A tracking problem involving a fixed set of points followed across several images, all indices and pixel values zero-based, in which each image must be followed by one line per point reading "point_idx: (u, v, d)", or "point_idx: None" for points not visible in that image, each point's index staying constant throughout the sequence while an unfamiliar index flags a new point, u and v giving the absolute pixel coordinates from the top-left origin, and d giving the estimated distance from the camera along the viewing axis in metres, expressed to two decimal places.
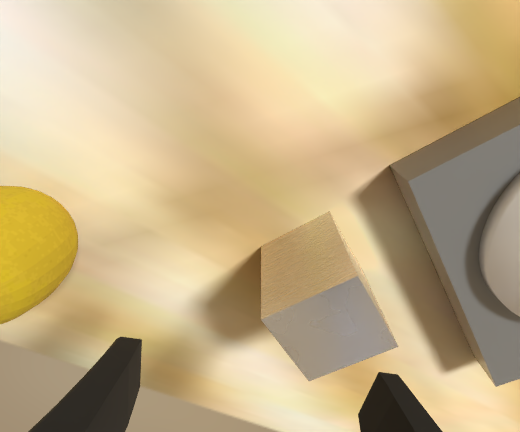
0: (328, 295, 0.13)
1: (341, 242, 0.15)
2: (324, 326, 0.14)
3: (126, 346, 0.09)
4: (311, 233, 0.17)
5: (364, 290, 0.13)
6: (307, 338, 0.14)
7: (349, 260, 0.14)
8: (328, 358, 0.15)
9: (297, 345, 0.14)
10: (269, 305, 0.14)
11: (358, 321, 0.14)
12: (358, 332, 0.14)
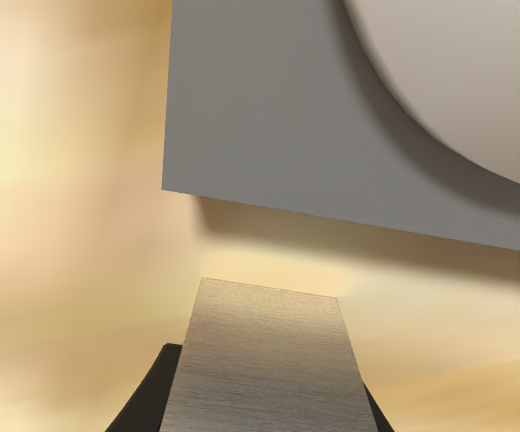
0: None
1: (176, 370, 0.07)
2: None
3: (175, 352, 0.09)
4: None
5: None
6: None
7: None
8: None
9: None
10: None
11: None
12: None
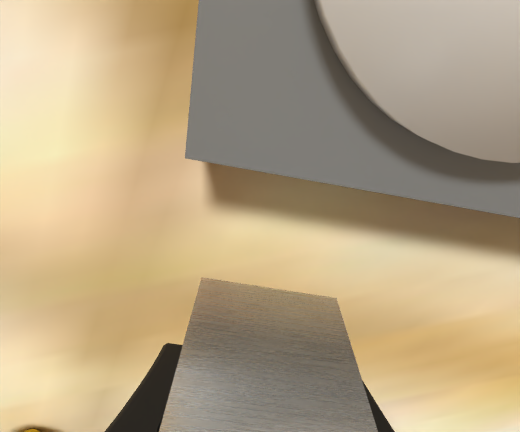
0: None
1: (176, 370, 0.07)
2: None
3: (175, 352, 0.09)
4: None
5: None
6: None
7: None
8: None
9: None
10: None
11: None
12: None
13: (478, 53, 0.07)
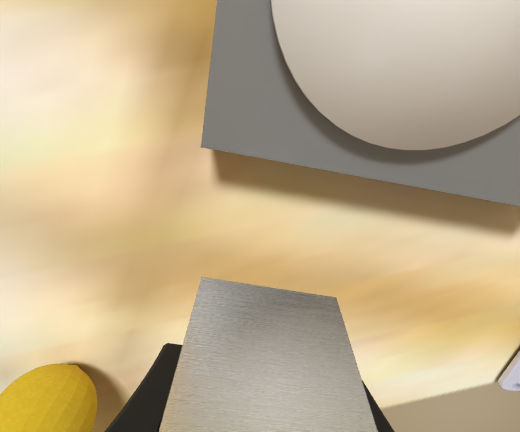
0: None
1: (176, 369, 0.07)
2: None
3: (175, 352, 0.09)
4: None
5: None
6: None
7: None
8: None
9: None
10: None
11: None
12: None
13: (377, 84, 0.11)
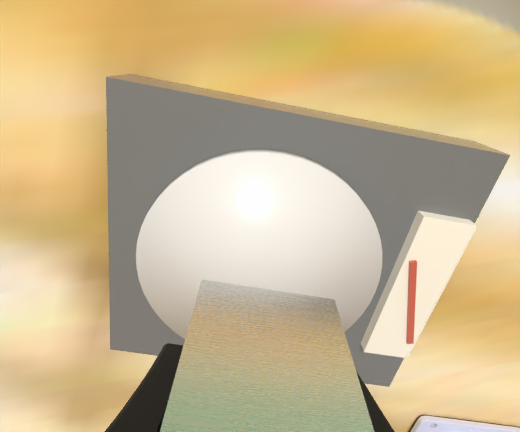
0: None
1: (176, 371, 0.08)
2: None
3: (175, 352, 0.09)
4: None
5: None
6: None
7: None
8: None
9: None
10: None
11: None
12: None
13: None
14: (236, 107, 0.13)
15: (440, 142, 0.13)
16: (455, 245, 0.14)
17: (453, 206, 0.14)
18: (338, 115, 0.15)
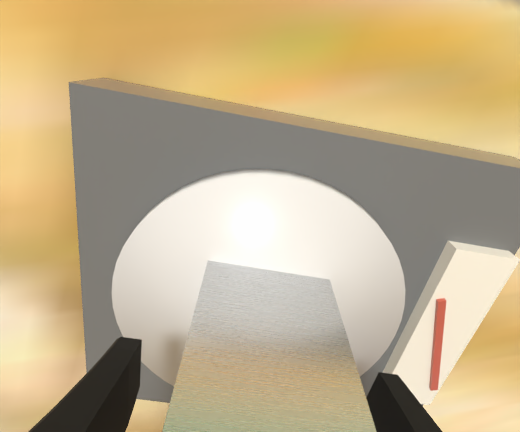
0: None
1: (188, 334, 0.08)
2: None
3: (126, 346, 0.09)
4: None
5: None
6: None
7: (174, 387, 0.07)
8: None
9: None
10: None
11: None
12: None
13: None
14: (230, 118, 0.10)
15: (478, 161, 0.11)
16: (492, 282, 0.12)
17: (490, 235, 0.12)
18: (352, 126, 0.12)
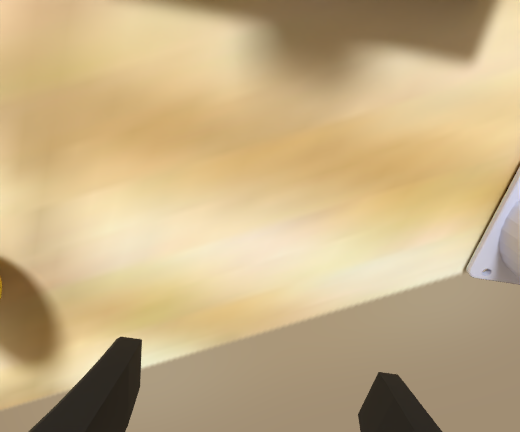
0: None
1: None
2: None
3: (127, 345, 0.09)
4: None
5: None
6: None
7: None
8: None
9: None
10: None
11: None
12: None
13: None
14: None
15: None
16: None
17: None
18: None
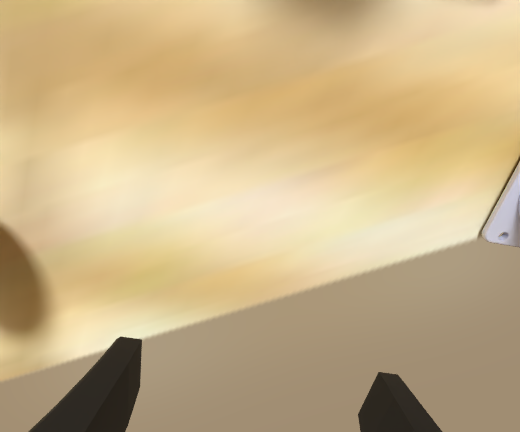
0: None
1: None
2: None
3: (126, 346, 0.09)
4: None
5: None
6: None
7: None
8: None
9: None
10: None
11: None
12: None
13: None
14: None
15: None
16: None
17: None
18: None
